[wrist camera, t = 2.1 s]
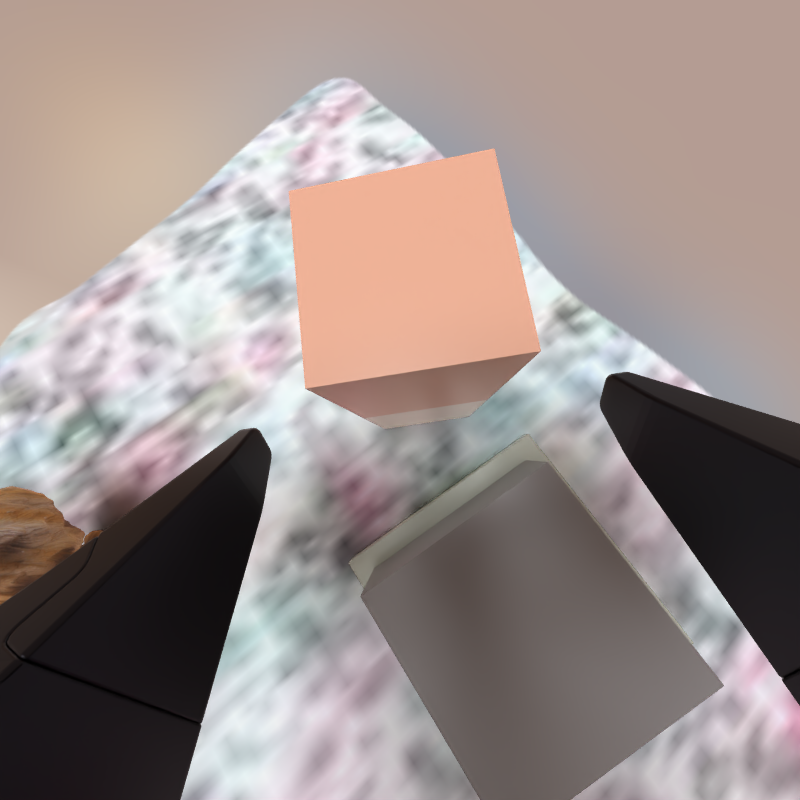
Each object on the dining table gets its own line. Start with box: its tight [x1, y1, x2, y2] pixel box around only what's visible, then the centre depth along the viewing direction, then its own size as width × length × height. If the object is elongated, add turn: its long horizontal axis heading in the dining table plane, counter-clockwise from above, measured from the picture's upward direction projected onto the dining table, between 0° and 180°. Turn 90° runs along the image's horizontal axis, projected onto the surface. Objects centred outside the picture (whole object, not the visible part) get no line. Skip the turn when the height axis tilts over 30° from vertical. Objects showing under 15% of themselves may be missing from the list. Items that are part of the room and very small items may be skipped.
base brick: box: [349, 434, 724, 800], centre depth 14 cm, size 12×12×4 cm
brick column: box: [289, 149, 541, 429], centre depth 13 cm, size 5×5×12 cm
